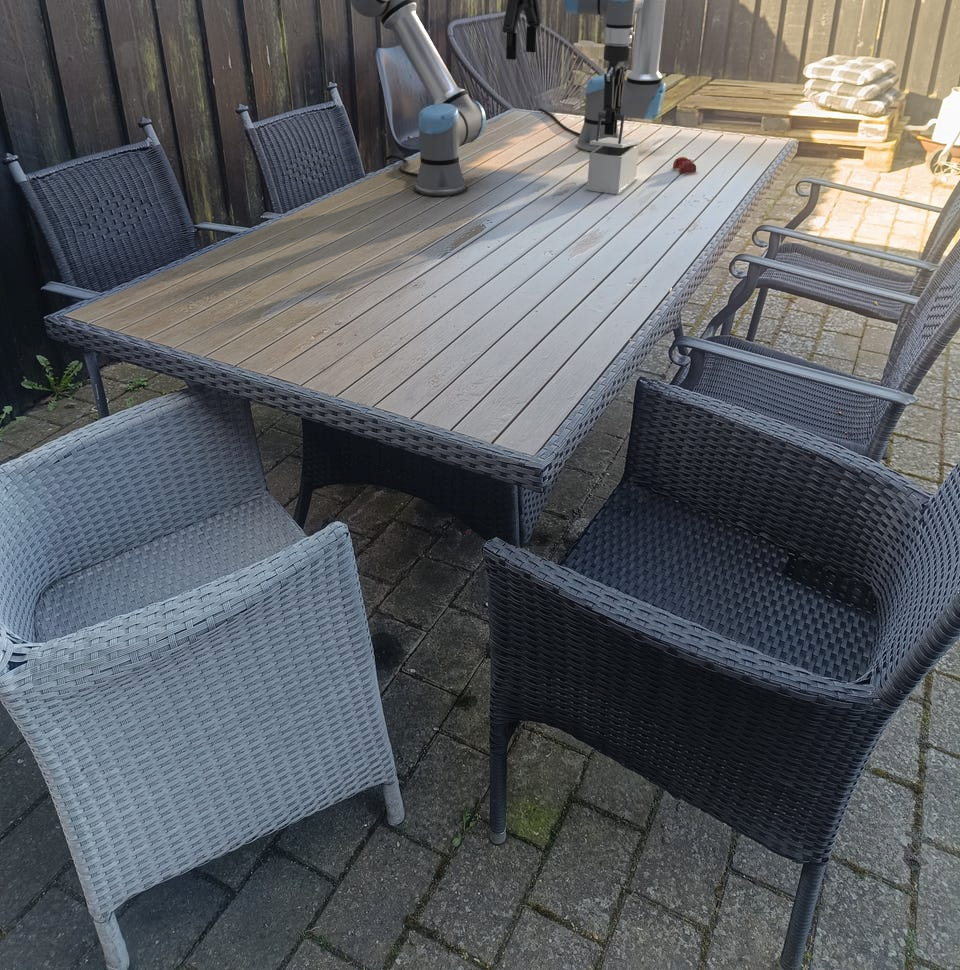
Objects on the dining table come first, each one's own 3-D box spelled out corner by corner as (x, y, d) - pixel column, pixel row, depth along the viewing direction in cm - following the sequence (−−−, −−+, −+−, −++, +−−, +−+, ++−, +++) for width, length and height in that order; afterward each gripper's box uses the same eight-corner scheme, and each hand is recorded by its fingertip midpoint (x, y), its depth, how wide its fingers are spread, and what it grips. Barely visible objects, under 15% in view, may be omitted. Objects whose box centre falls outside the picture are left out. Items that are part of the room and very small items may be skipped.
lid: (621, 148, 246) (626, 115, 242) (589, 144, 250) (593, 112, 246) (639, 143, 261) (643, 112, 257) (608, 140, 264) (612, 109, 260)
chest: (618, 194, 254) (621, 157, 248) (586, 190, 258) (589, 153, 252) (635, 179, 267) (639, 143, 261) (605, 175, 271) (608, 140, 264)
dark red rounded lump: (688, 153, 276) (699, 160, 270) (686, 166, 279) (697, 173, 272) (672, 155, 275) (682, 161, 269) (670, 168, 278) (681, 175, 271)
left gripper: (517, -28, 216) (515, 63, 229) (553, -35, 234) (550, 50, 247) (490, -29, 219) (490, 61, 231) (529, -36, 237) (526, 48, 249)
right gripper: (622, 48, 228) (614, 140, 242) (638, 41, 239) (630, 129, 253) (596, 47, 231) (589, 137, 245) (613, 40, 242) (606, 127, 255)
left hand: (521, 55), depth 239 cm, fingers open, 13 cm apart
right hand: (610, 133), depth 249 cm, fingers closed on lid, 2 cm apart
